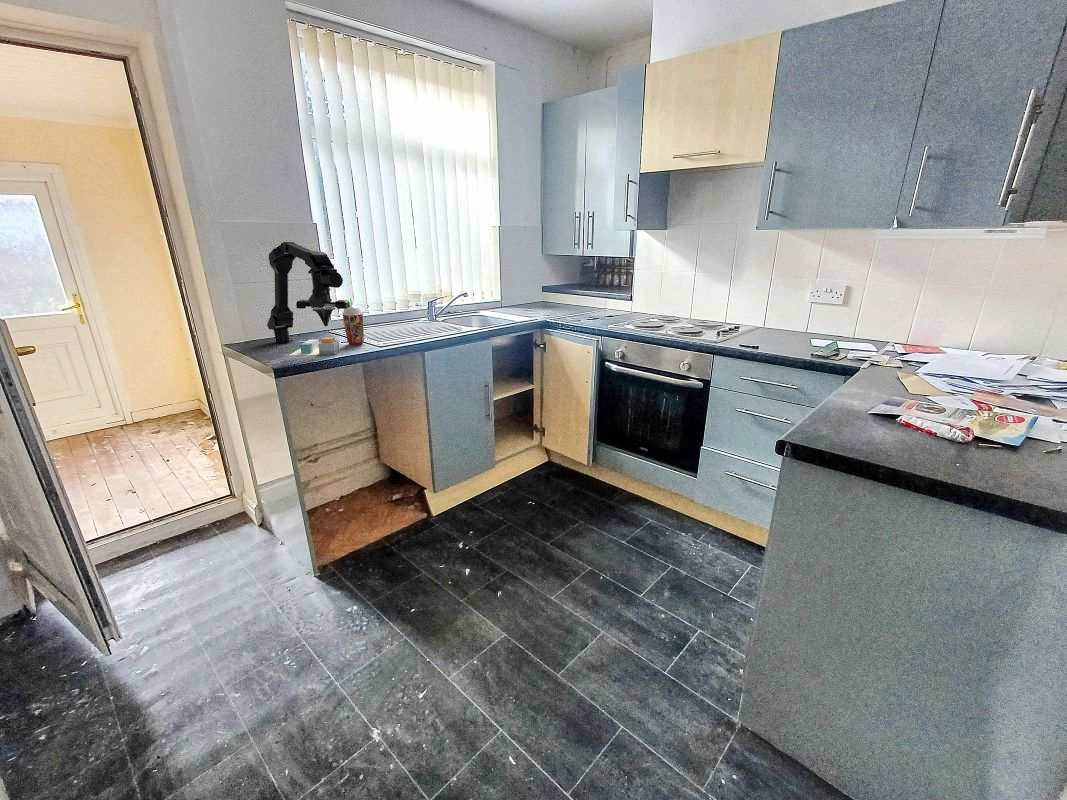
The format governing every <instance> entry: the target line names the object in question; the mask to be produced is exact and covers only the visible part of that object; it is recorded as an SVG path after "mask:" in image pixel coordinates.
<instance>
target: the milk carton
mask: <svg viewBox="0 0 1067 800" xmlns="http://www.w3.org/2000/svg"><path fill="white" fill-rule="evenodd" d="M318 343H320V342H319V339H308V340H306V341H305V342H301V343H300V344H299V345H300V349H301V353H312V352H314V351H315V350H317V349H319V347H318Z"/></svg>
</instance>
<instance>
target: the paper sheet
mask: <svg viewBox="0 0 1067 800" xmlns="http://www.w3.org/2000/svg"><path fill="white" fill-rule="evenodd" d="M318 355H320V354H319V349H317V350H315V351H314V352H312V353H301V348H299V349H297V350H295V351H294V352H292V353H290V354H289V356H318Z"/></svg>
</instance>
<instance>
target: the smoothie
mask: <svg viewBox="0 0 1067 800" xmlns="http://www.w3.org/2000/svg"><path fill="white" fill-rule="evenodd" d="M349 302H350V307H349V308H347V309H343V312H342V320H343V324H344V329H345V336H346V337H345V338H346V341H347V343H348V345H349V346H353V347H357V346H362V345H364V341H365V333H364V313H363V311H362V310H361V308H360V307H359V306H358V305H356V304H353V299H352V297H351V298H350V301H349Z"/></svg>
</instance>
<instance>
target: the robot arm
mask: <svg viewBox="0 0 1067 800" xmlns="http://www.w3.org/2000/svg"><path fill="white" fill-rule="evenodd" d="M268 253H269V254H268V261H269V266H270V267H271V268H272V270H273V272H274V306H273V307H272V309H271V310H270V317H269V319H268V321H267V324H266V325H267V328H268V330H271V331H272V330H273V334H274V339H275V341H272V342H271V343H272V344H289V343H292V342H293V341H294V339H293V338H292V339H291V338H290V332H289V328H291V329H292V328H293V327H294V312H293V311H292V310H291V308H290V307H289V273H290V271H291V270H292V268H293V262H294V261H295V259H296V258H298V259H300V260H302V261H304V264H305V265H306V266H307V267H309V268H310V269H309V270H308V272H307V273H308V274H309V275H310V274H311V282H312V289H311V293H312V294H311V295H310V296H309V298H308V299H299V300H297V301H296V303H295V306H296V309H306V307H308V308H309V307H310V308H311V310H312V311H313V312H315V313H316V314H317V315H318V316H319V318H320V320H321V323H323V326H324V327H329V323H330V318H331V315H332V314H333V311H335V310H336V309H339V310H342V309H343V310H344V309H347V308H349V307H350V305H351V302H350V301H349V299H338V300H335V301H332V298H331V292H330V291H331V288H336V289H338V288H340V287H341V286H342V285H343V283H344V279H343V277H342V275H341V274H340V273H339V272H338V269H337V268H335V266H334V264H333V262H332V261H331V260H330V257H329V256H328V254H327V253H326V252H324V251H317V250H316V251H315V250H311V249H308V248H306V247H304V246H301V245H300V244H297V243H296V242H294V241H283V242H281V243H280V245H278V246H277V247H275V248H273V249H272V250H271V251H270V252H268Z"/></svg>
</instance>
